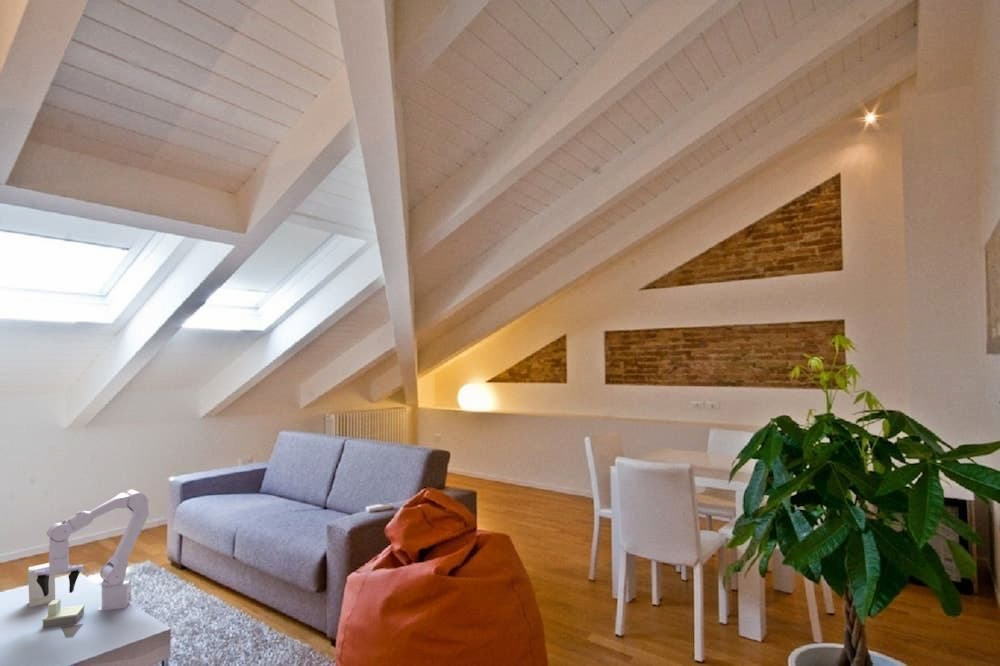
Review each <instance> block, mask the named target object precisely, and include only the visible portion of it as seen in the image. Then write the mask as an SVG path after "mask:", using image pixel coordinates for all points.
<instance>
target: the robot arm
mask: <svg viewBox="0 0 1000 666" xmlns="http://www.w3.org/2000/svg"><path fill="white" fill-rule="evenodd" d="M115 509H129V512H130V513H131V515H132V516H131V518H130V520H129V522H128V524H127V526H126V528H125V531H124V533H123V535H122V537H121V539H120V541H119V542H118V545H117V547H116V549H115V551H114V553H113V555H112V556H111V557H110V558H108V560H107V562H106V564H105V565H103V566H102V568H101V570H100V571H99V572H100V573H99V575H100V577H101V578H102V579H103V580H102V582H101V605H100V607H99V608H98V609H97V611H98V612H102V611H107V610H115V609H116V610H117V609H122V608H123V609H125V608H127V607H128V605H129V604H130V602H131V601H132V582H131V580H125V579H126V576H127V568H128V564H129V563H128V562H129V561H128V560H129V557H130V555H131V553H132V551H133V549H134V547H135V545H136V542H137V540H138V539H139V536H140V533H141V532H142V530H143V528H144V525H145V523H146V521H147V519H148V517H149V514H150V511H149V499H148V497H147V496H146V495H145V494H144V493H143V492H139V491H138V490H136V489H131V488H130V489H127V490H126V491H124V492H121V493H119V494H117V495H116V496H114V497H113V498H111V499H109V500H107V501H105V502H104V503H102V504H100V505H98V506H96V507H95V508H92V509H91V510H90V511H87V510H82V511H80V510H79V511H77V512H76V514H74V515H72V516H70V517H68V518H66V519H65V518H64V519H62V520H61V522H55V523H54V524H51V526H50V527H49V528H48V530H47V531H46V534H47V536H48V537H49V542H48V543H49V545H48V563H49V568H47V569H42V570H37V571H35V572H34V578H36V577H38V578H37V580H36V581H37V583H38V584H39V585H40V587H41V588H42V591H43V594H44V597H45V596H47V595H48V594H49V575H54V574H55V575H60V574H68V580H69V583H68V584H69V588H68V590H69V594H71V593H73V592H74V589H75V585H76V582H77V579H78V577H79V575H80V573H81V572H83V571H84V564H74V565H73V564H70V559H69V558H70V555H69V554H70V553H69V548H70V547H69V545H70V543H69V538H70V536H71V535H72V534H74V533H76V532H77V531H80V530H82V529H84V528H85V527H88V526H89V525H91V524H92V523H93V521H94V519H96V518H99V517H100V516H103V515H105V514H106V513H109V512H111V511H113V510H115ZM128 603H129V604H128Z"/></svg>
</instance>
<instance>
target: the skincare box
mask: <svg viewBox="0 0 1000 666" xmlns="http://www.w3.org/2000/svg"><path fill="white" fill-rule="evenodd" d="M47 568H49V562H46V563H42V564H37V565H33V566H29V567H28V569H27V570H28V571H27V579H28V601H29V602H28V603H29V605H28V606H29V608H32V607H39V606H42V605H46V604H49V603H50V602H51V601H52V600H56V579H55V578H56V576H55V575H56V574H54V575H49V594H48V595H47V596H45V597H44V594H43V591H42V588H41V587H40V585H39V584H38V583H37V581H36V580H37V578H38V577H36V578H34V572H35V571H37V570H42V569H47Z"/></svg>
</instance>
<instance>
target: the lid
mask: <svg viewBox="0 0 1000 666" xmlns="http://www.w3.org/2000/svg"><path fill="white" fill-rule="evenodd" d="M61 601H62V600H61V598H60V599H55V600H52V601H51V602H50V603H47V604H48V605H47V613H46V614H45V616H43V618H42V619H41V621H42V622H43V621H45V620H52V619H59V618H66V617H73V616H77V615H78V614H79V613H80V611H81V610H82V609H83V608H84V609H85V606H86V604H77V605H71V606H65V607H64V606H63V607H62V606H61V604H62V603H61Z"/></svg>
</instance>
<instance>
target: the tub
mask: <svg viewBox="0 0 1000 666" xmlns="http://www.w3.org/2000/svg"><path fill="white" fill-rule="evenodd" d="M84 614H85V607H84V608H83V609H82V610H81V611H80V613H79V614H78V615H77V616H73V617H66V618H59V619H52V620H45V621H42V628H44V629H45V628H51V627H58V626H68V625H76V624H77V623H78V622H79V621H80V620H81V618H82V617H83V616H84Z"/></svg>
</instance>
